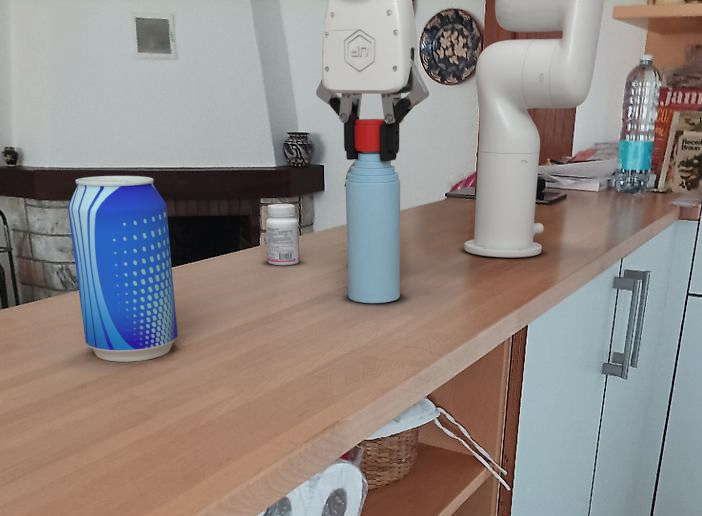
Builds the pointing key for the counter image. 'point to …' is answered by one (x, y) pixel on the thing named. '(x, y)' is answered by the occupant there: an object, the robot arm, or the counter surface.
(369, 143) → the cap
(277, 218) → the pill bottle
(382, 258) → the water bottle
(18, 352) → the counter surface
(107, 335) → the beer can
